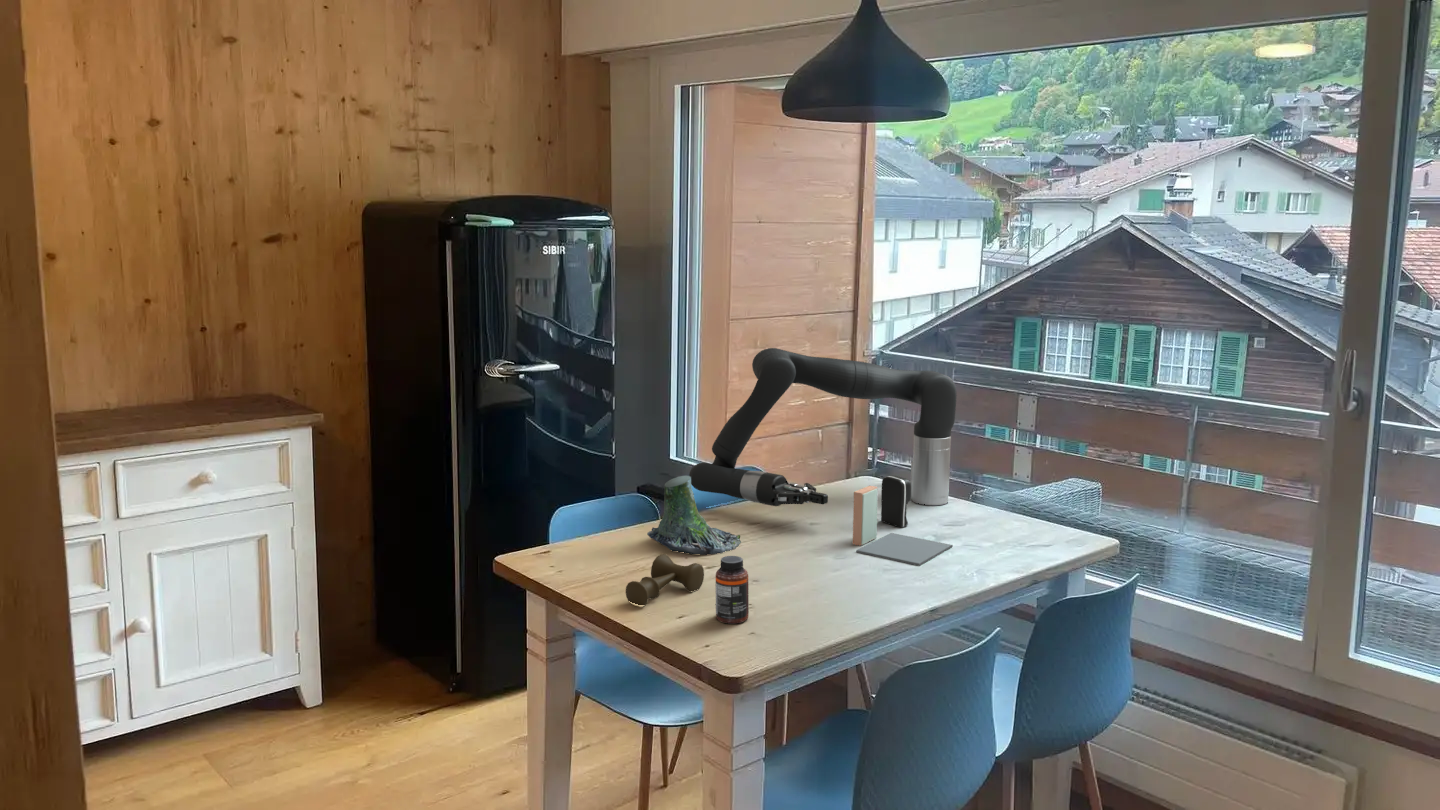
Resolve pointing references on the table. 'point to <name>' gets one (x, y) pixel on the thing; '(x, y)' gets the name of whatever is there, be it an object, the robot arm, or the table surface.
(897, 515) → the battery charger
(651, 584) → the kendama
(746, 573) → the supplement bottle
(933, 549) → the mat
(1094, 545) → the table surface
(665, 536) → the tree stump
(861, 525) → the tile
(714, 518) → the table surface
